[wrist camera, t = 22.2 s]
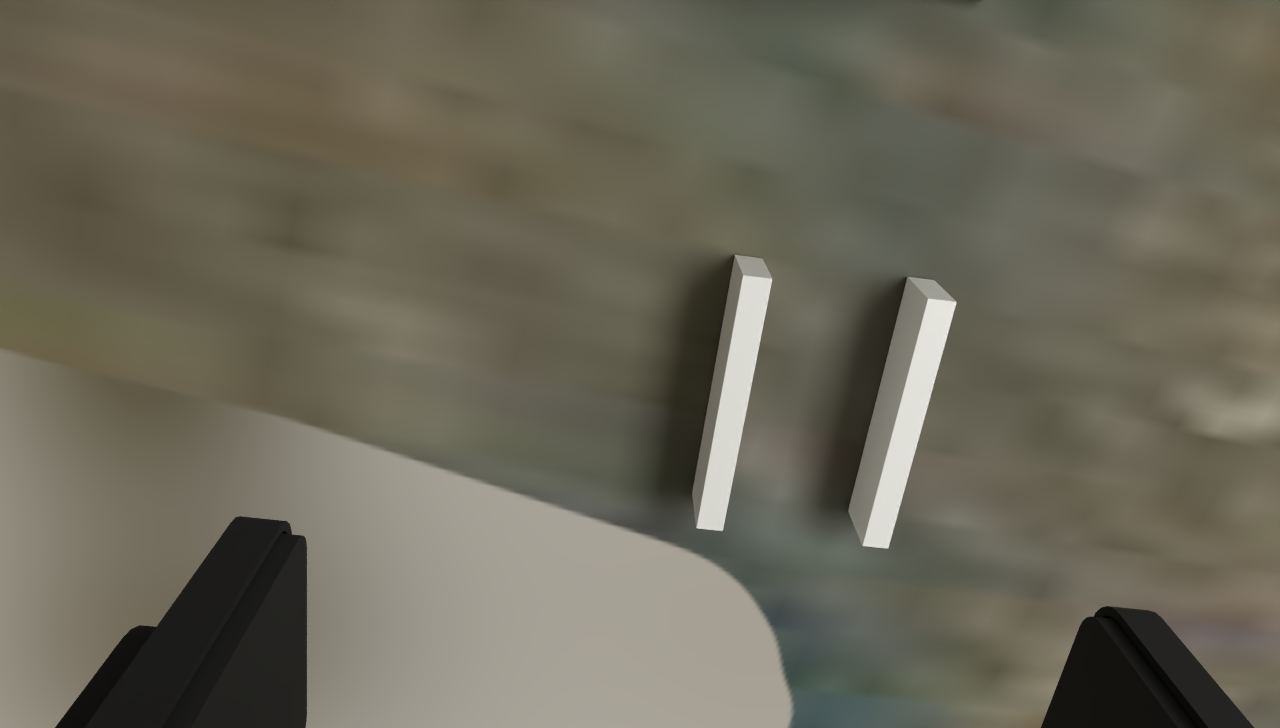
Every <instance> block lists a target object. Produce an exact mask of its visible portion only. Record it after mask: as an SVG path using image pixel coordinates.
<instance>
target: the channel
mask: <svg viewBox="0 0 1280 728" xmlns="http://www.w3.org/2000/svg"><path fill="white" fill-rule="evenodd" d="M771 283H772V277H771V275H770V273H769V271H768V269H767V267H766V265H765V263H764V261H763V259H762V258H756V257H748V256H740V255H735V257H734V262H733V268H732V273H731V279H730V285H729V290H728V296H727V301H726V307H725V313H724V318H723V324H722V329H721V335H720V340H719V346H718V352H717V357H716V363H715V368H714V374H713V379H712V385H711V391H710V396H709V402H708V407H707V413H706V419H705V424H704V430H703V435H702V441H701V446H700V452H699V458H698V463H697V469H696V474H695V480H694V485H693V491H692V499H693V506H694V513H695V520H696V528H699V529H709V530H718V531H723V527H724V522H725V517H726V512H727V507H728V502H729V497H730V491H731V486H732V481H733V476H734V471H735V466H736V461H737V456H738V451H739V446H740V441H741V436H742V431H743V425H744V420H745V415H746V410H747V405H748V400H749V395H750V390H751V385H752V380H753V375H754V370H755V365H756V359H757V354H758V349H759V344H760V339H761V334H762V329H763V324H764V319H765V314H766V309H767V304H768V298H769V293H770V288H771ZM955 306H956V301H955V300H954V299H953V298H952V297H951V296H950V295H949V294H948V293H947V292H946V291H945V290H944V289H943V288H942V287H941V286H940V285H939V284H937V283H936V282H935V281H934V280H929V279H921V278H913V277H907V281H906V285H905V289H904V293H903V296H902V300H901V304H900V308H899V312H898V316H897V320H896V324H895V328H894V332H893V336H892V340H891V344H890V348H889V352H888V356H887V360H886V363H885V367H884V371H883V375H882V379H881V383H880V387H879V391H878V395H877V399H876V403H875V407H874V411H873V415H872V419H871V423H870V426H869V430H868V434H867V438H866V442H865V446H864V450H863V454H862V458H861V462H860V466H859V470H858V474H857V478H856V482H855V486H854V490H853V493H852V497H851V501H850V505H849V509H848V512H849V515H850V517H851V520H852V522H853V524H854V527H855V529H856V531H857V534H858V536H859V538H860V541H861V543H862V545H863V546H869V547H878V548H888V547H889V544H890V540H891V537H892V533H893V529H894V526H895V522H896V519H897V515H898V511H899V508H900V504H901V501H902V497H903V493H904V490H905V486H906V483H907V479H908V475H909V472H910V468H911V464H912V461H913V457H914V454H915V450H916V446H917V443H918V439H919V436H920V432H921V428H922V425H923V421H924V418H925V414H926V410H927V407H928V403H929V400H930V396H931V392H932V389H933V385H934V382H935V378H936V374H937V371H938V367H939V364H940V360H941V356H942V353H943V349H944V346H945V342H946V338H947V335H948V331H949V328H950V324H951V320H952V317H953V313H954V310H955Z"/></svg>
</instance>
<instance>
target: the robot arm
mask: <svg viewBox="0 0 1280 728" xmlns="http://www.w3.org/2000/svg"><path fill="white" fill-rule="evenodd" d="M306 715H307V546H306V539H305V537H304V536H300V535H292V532H291V527H290V524H289V523H288V522H287V521H279V520H269V519H260V518H250V517H236V518H235V519H234V520H233V521H232V522H231V523H230V525H229V526H228V527H227V529H226V530H225V532H224V533H223V534H222V536H221V537H220V539H219V540H218V542H217V543H216V544H215V546H214V547H213V548H212V550H211V551H210V553H209V554H208V556H207V557H206V558H205V560H204V561H203V563H202V564H201V565H200V567H199V568H198V570H197V571H196V572H195V574H194V575H193V577H192V578H191V579H190V581H189V582H188V584H187V585H186V586H185V588H184V589H183V591H182V592H181V593H180V595H179V596H178V598H177V599H176V601H175V602H174V603H173V605H172V606H171V607H170V609H169V610H168V612H167V613H166V614H165V616H164V617H163V619H162V620H161V621H160V623H159V624H158V626H157V627H151V626H141V625H140V626H137V627H135V628H133V629H131V630H130V631H129V632H128V633H127V634H126V635H125V636H124V637H123V638H122V640H121V641H120V642H119V644H118V645H117V646H116V647H115V649H114V650H113V651H112V653H111V654H110V655H109V657H108V658H107V659H106V661H105V662H104V664H103V665H102V666H101V667H100V669H99V670H98V671H97V673H96V674H95V676H94V677H93V678H92V679H91V681H90V682H89V683H88V685H87V686H86V687H85V689H84V690H83V691H82V693H81V694H80V695H79V697H78V698H77V699H76V701H75V702H74V703H73V705H72V706H71V707H70V709H69V710H68V711H67V713H66V714H65V715H64V717H63V718H62V719H61V721H60V722H59V723H58V725H57V726H56V727H55V728H305V727H306V718H307V716H306ZM1041 728H1254V727H1253V726H1252V725H1251V723H1250V722H1249V721H1248V720H1247V719H1246V718H1245V716H1244V715H1243V714H1242V713H1241V712H1240V710H1239V709H1238V708H1237V707H1236V706H1235V704H1234V703H1233V702H1232V701H1231V700H1230V698H1229V697H1228V696H1227V695H1226V694H1225V693H1224V691H1223V690H1222V689H1221V688H1220V687H1219V685H1218V684H1217V683H1216V682H1215V681H1214V679H1213V678H1212V677H1211V676H1210V675H1209V674H1208V672H1207V671H1206V670H1205V669H1204V668H1203V666H1202V665H1201V664H1200V663H1199V662H1198V660H1197V659H1196V658H1195V657H1194V656H1193V655H1192V653H1191V652H1190V651H1189V650H1188V649H1187V647H1186V646H1185V645H1184V644H1183V643H1182V641H1181V640H1180V639H1179V638H1178V637H1177V636H1176V634H1175V633H1174V632H1173V631H1172V630H1171V628H1170V627H1169V626H1168V625H1167V624H1166V622H1165V621H1164V620H1163V619H1162V618H1161V617H1160V616H1159V615H1158V614H1156V613H1155V612H1152V611H1148V610H1139V609H1129V608H1119V607H1110V606H1106V607H1102V608H1100V609H1099V610H1098V611H1097V612H1096V613H1095V615H1094V617H1087V618H1086V619H1085V620H1083V622H1082V623H1081V625H1080V627H1079V630H1078V632H1077V635H1076V638H1075V640H1074V643H1073V645H1072V648H1071V651H1070V653H1069V656H1068V659H1067V661H1066V664H1065V666H1064V669H1063V672H1062V674H1061V677H1060V679H1059V682H1058V685H1057V687H1056V690H1055V692H1054V695H1053V698H1052V700H1051V703H1050V706H1049V708H1048V711H1047V713H1046V716H1045V719H1044V721H1043V724H1042V726H1041Z"/></svg>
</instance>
